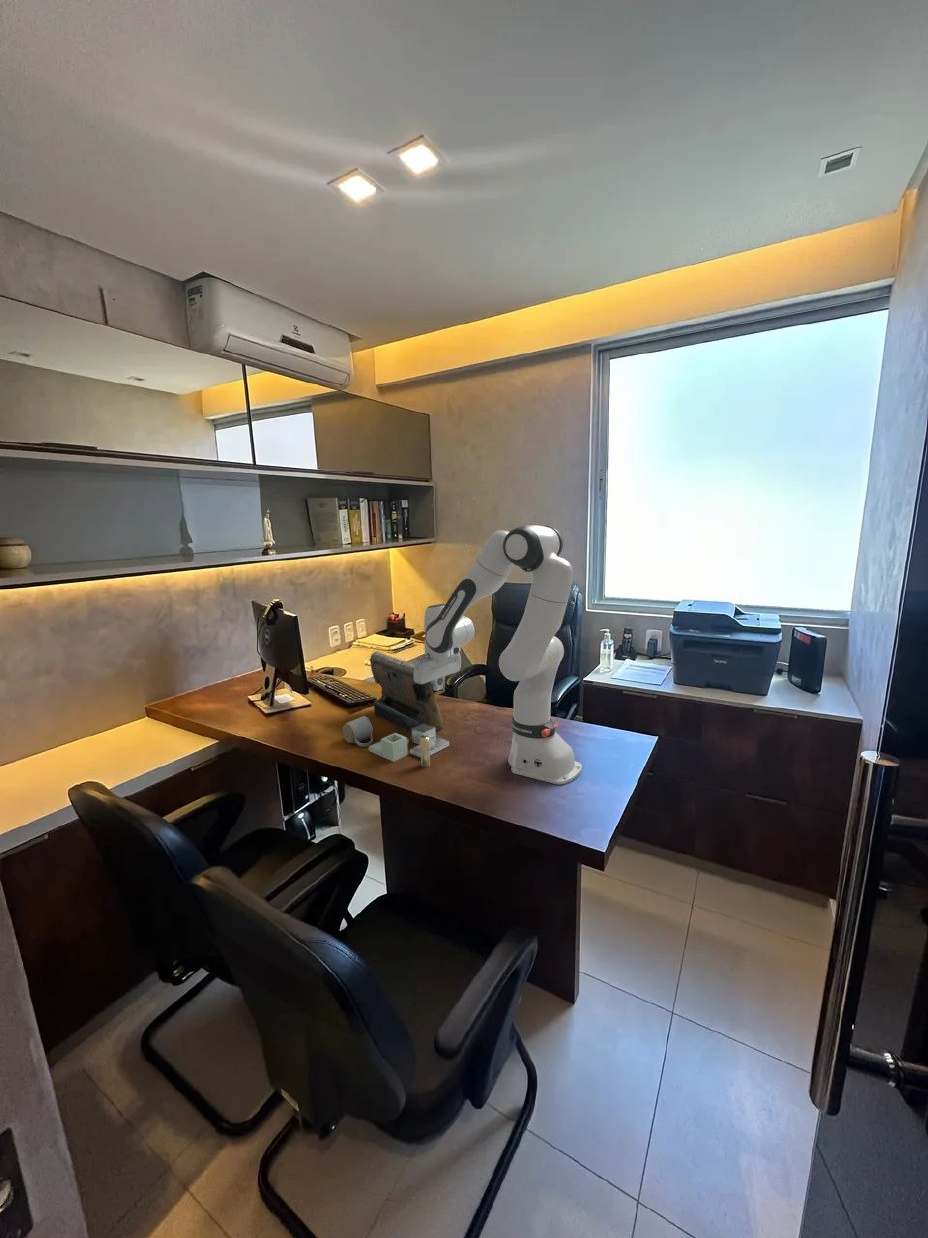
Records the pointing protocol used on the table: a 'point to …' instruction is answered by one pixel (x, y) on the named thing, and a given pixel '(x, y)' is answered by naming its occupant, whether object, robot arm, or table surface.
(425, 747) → the hinge pin
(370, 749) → the green square socket base
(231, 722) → the table surface
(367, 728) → the ceramic mug
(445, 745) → the sliding leaf
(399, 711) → the tablet
